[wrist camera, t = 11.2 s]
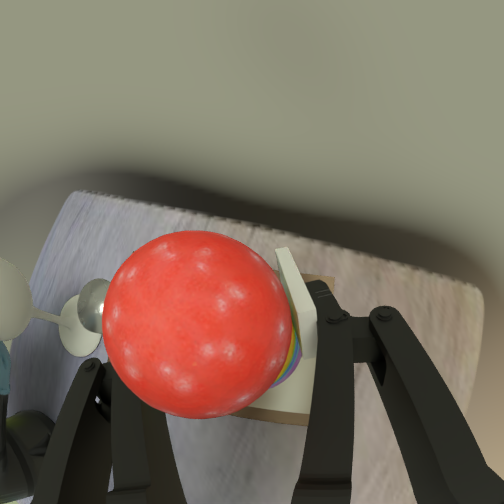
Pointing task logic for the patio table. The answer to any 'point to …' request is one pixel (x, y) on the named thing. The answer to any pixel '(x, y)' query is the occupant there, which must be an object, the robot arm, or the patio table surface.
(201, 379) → the stacking toy
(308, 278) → the board
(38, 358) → the patio table surface
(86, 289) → the grey brown short cylinder
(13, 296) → the wineglass
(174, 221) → the patio table surface
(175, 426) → the patio table surface
